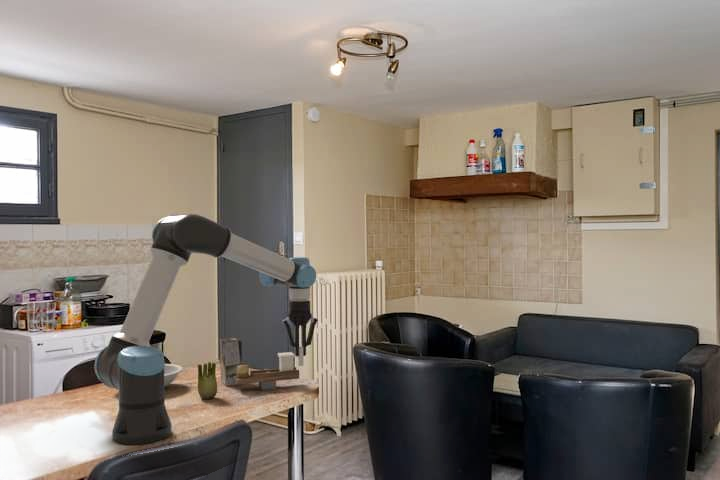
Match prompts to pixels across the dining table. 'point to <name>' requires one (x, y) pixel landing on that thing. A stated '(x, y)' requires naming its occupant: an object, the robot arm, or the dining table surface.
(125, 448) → the dining table surface
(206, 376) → the fennel bulb
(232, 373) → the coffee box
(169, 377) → the soup bowl
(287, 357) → the white rounded block
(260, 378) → the beam
